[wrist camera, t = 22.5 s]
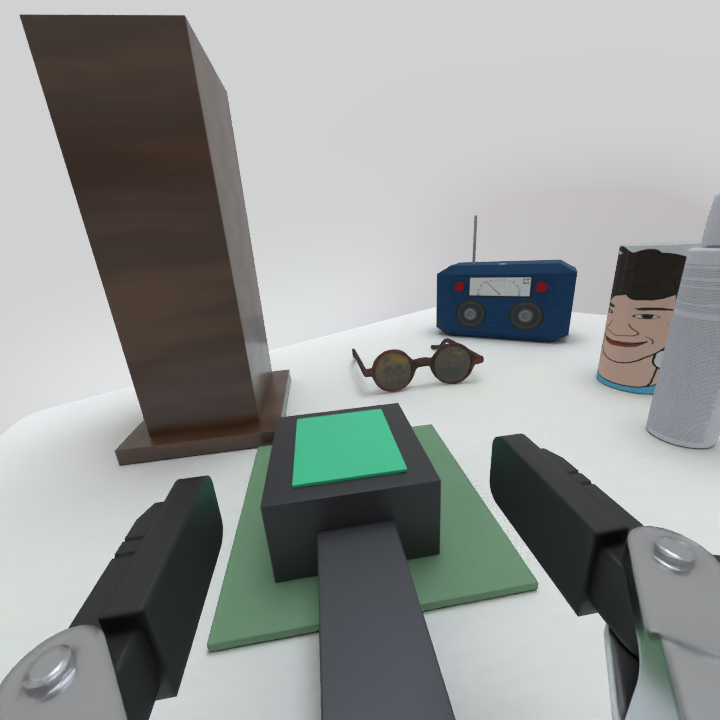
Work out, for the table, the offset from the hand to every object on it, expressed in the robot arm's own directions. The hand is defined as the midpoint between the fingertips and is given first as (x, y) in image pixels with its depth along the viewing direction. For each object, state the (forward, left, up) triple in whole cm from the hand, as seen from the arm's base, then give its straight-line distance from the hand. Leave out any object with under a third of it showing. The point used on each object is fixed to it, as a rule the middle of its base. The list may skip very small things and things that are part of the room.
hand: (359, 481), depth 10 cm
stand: (+3, +30, -11) cm, 32 cm away
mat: (+6, +9, -11) cm, 16 cm away
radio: (+50, +25, -11) cm, 57 cm away
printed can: (+41, +3, -11) cm, 43 cm away
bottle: (+31, -3, -11) cm, 33 cm away
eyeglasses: (+27, +25, -11) cm, 39 cm away
